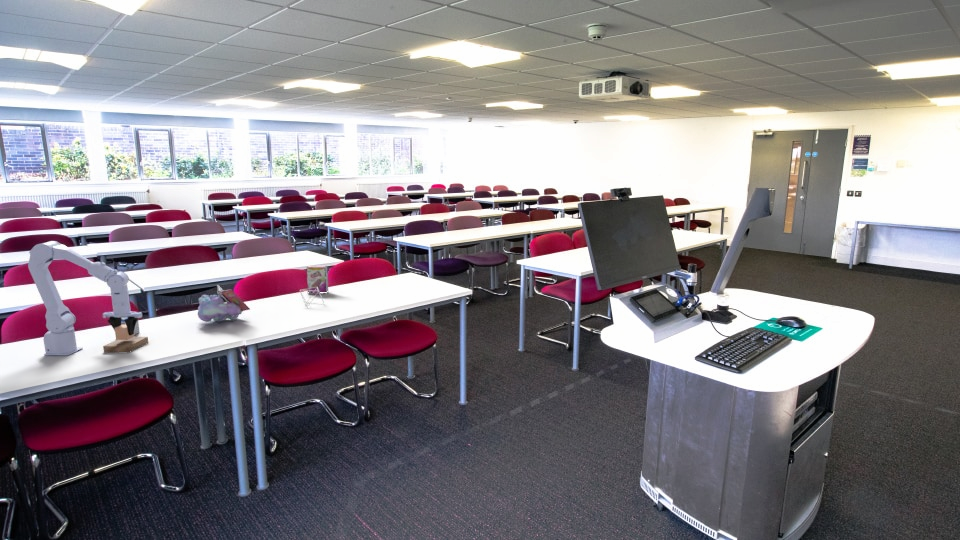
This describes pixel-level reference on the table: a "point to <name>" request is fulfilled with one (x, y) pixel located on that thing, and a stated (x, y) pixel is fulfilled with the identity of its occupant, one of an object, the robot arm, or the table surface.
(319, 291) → the geometric polyhedron
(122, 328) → the terracotta block
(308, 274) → the candy bar box
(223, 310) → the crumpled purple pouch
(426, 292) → the table surface
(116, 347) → the walnut block
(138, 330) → the medicine box
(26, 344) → the table surface
